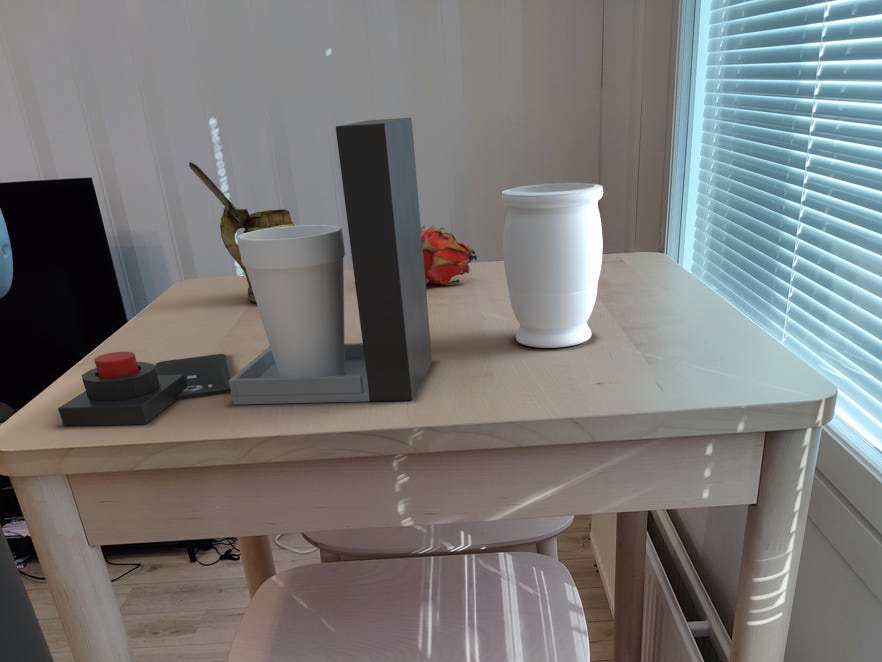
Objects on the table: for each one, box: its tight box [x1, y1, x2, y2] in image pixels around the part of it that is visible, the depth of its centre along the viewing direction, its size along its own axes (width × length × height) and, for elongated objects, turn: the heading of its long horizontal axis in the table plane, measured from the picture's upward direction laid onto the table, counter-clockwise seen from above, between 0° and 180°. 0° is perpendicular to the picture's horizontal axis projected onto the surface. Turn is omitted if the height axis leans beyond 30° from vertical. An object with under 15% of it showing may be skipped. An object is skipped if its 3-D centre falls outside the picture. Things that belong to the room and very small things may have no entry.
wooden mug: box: [188, 161, 296, 305], centre depth 119 cm, size 9×14×18 cm, turn 111°
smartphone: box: [155, 353, 232, 401], centre depth 90 cm, size 8×15×1 cm, turn 17°
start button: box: [93, 351, 139, 378], centre depth 80 cm, size 4×4×2 cm
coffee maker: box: [229, 117, 433, 406], centre depth 80 cm, size 17×13×22 cm
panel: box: [57, 361, 187, 427], centre depth 81 cm, size 8×10×4 cm
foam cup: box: [236, 224, 346, 378], centre depth 82 cm, size 10×9×13 cm
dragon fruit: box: [421, 224, 478, 287], centre depth 125 cm, size 8×8×12 cm
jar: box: [501, 182, 604, 349], centre depth 91 cm, size 11×10×15 cm
